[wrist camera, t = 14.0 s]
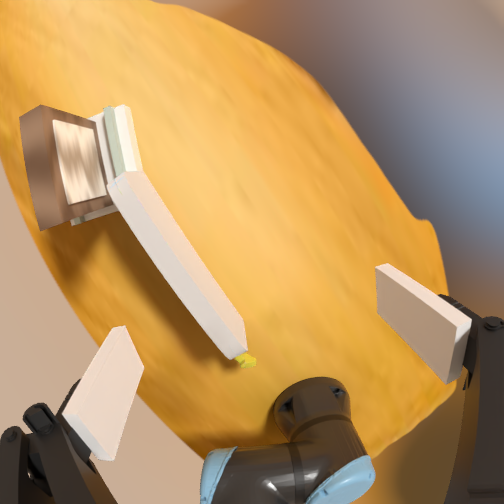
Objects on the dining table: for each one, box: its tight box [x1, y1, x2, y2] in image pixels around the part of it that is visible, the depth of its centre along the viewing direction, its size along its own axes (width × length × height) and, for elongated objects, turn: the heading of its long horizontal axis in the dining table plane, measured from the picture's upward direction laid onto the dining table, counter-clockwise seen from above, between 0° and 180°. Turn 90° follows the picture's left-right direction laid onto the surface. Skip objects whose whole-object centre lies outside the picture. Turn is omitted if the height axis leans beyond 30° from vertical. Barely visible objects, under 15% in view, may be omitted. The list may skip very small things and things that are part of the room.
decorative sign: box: [107, 171, 256, 368], centre depth 39 cm, size 32×4×10 cm, turn 31°
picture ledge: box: [70, 104, 143, 226], centre depth 36 cm, size 14×12×4 cm
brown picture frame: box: [19, 105, 113, 231], centre depth 28 cm, size 12×4×14 cm, turn 12°
